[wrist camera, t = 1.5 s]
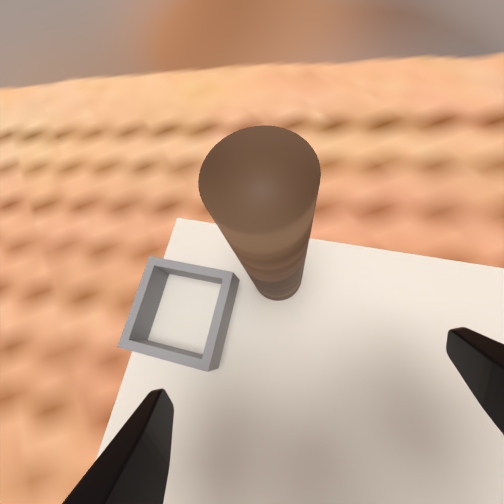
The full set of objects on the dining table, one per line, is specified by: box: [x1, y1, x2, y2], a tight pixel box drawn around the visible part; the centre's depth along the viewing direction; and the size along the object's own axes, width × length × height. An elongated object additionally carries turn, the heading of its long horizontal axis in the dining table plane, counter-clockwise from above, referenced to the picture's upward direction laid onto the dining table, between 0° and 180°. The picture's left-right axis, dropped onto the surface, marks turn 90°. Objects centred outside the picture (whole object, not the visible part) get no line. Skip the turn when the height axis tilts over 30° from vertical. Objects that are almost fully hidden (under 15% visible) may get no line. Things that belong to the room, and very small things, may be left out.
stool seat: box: [96, 218, 504, 504], centre depth 17 cm, size 25×25×4 cm
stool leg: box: [198, 126, 321, 301], centre depth 14 cm, size 4×4×13 cm
